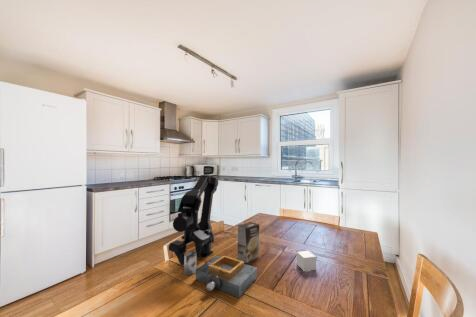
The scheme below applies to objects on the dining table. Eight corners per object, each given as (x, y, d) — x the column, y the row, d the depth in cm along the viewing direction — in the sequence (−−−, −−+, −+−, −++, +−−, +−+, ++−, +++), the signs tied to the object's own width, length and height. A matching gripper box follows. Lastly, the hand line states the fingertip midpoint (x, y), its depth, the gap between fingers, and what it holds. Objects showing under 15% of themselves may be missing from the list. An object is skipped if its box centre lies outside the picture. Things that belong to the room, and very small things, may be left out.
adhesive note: (316, 270, 86) (316, 256, 86) (303, 272, 84) (304, 258, 85) (308, 263, 92) (308, 250, 92) (296, 265, 90) (296, 251, 90)
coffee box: (246, 263, 91) (247, 228, 91) (237, 258, 96) (237, 225, 96) (259, 257, 97) (259, 224, 98) (249, 252, 102) (250, 221, 102)
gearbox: (217, 264, 90) (217, 250, 90) (257, 278, 80) (257, 262, 80) (188, 285, 75) (188, 268, 75) (232, 305, 64) (232, 286, 64)
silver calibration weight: (190, 267, 87) (190, 247, 87) (200, 271, 84) (200, 250, 84) (181, 272, 83) (181, 251, 83) (191, 276, 80) (192, 254, 80)
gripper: (188, 234, 72) (187, 277, 72) (219, 221, 88) (219, 256, 88) (168, 228, 78) (167, 268, 78) (200, 217, 94) (200, 250, 94)
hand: (190, 260), depth 84 cm, fingers open, 9 cm apart
